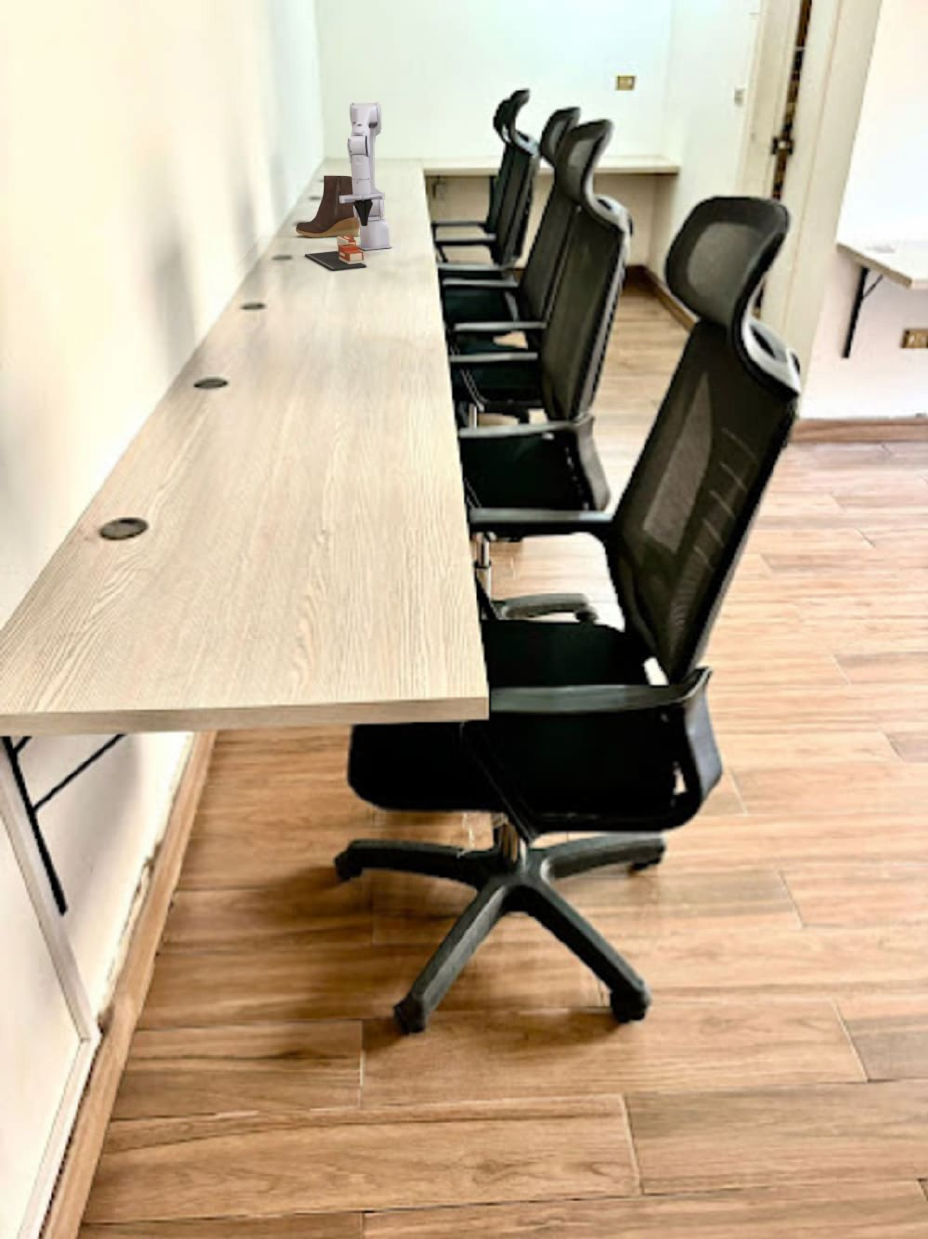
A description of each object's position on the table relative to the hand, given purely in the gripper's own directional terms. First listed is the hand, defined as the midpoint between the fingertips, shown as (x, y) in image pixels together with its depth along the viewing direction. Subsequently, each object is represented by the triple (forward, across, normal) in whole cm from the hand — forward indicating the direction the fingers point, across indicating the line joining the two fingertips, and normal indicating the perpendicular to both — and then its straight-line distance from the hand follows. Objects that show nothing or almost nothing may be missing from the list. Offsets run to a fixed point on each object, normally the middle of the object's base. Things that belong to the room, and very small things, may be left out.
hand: (364, 225), depth 302 cm
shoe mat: (+9, -12, -2) cm, 15 cm away
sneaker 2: (+7, -5, -7) cm, 11 cm away
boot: (+10, +2, +44) cm, 45 cm away
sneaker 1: (+9, -4, +7) cm, 12 cm away
